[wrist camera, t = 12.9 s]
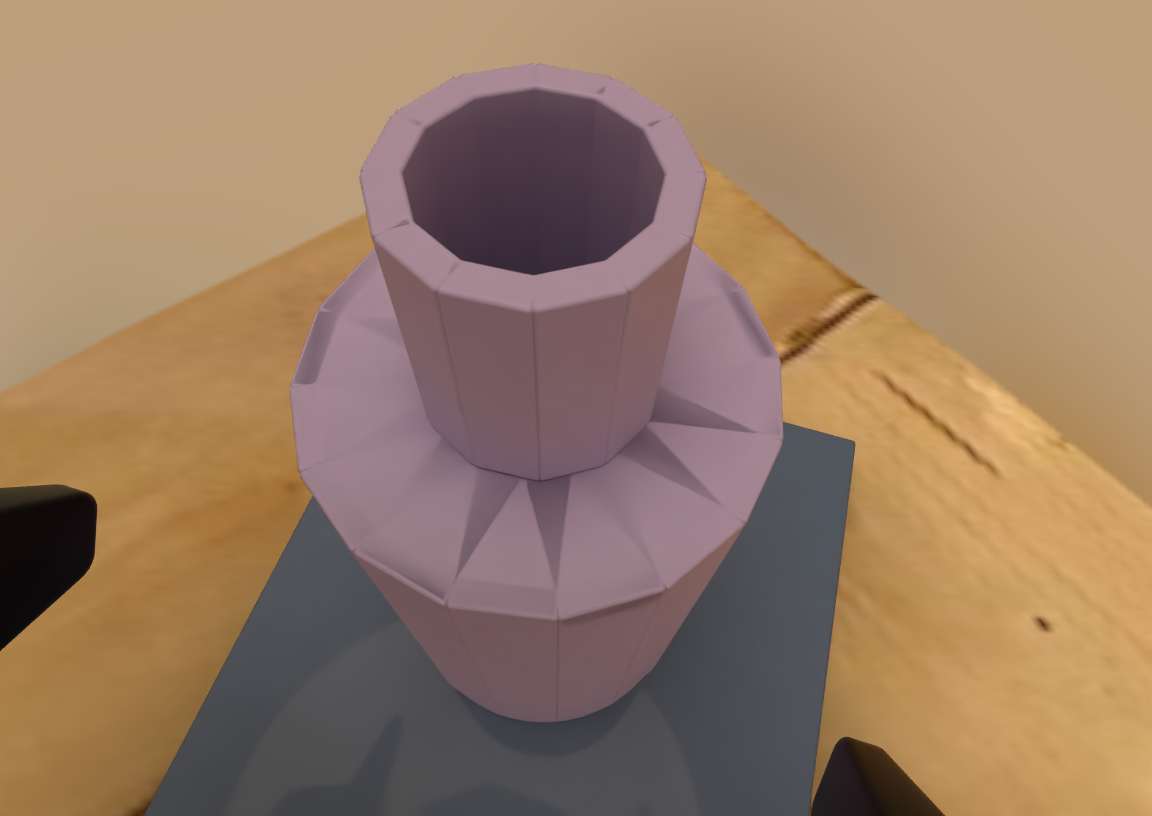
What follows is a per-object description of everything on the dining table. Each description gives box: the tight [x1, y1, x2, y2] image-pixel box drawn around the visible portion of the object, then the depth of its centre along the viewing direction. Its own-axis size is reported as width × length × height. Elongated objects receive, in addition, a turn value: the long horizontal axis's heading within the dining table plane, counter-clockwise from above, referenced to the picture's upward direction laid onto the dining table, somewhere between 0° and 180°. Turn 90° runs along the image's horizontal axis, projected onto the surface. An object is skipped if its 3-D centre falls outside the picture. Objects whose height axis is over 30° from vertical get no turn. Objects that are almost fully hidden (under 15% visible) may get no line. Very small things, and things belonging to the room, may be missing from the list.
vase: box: [290, 64, 783, 723], centre depth 13 cm, size 7×7×14 cm
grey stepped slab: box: [144, 422, 855, 816], centre depth 18 cm, size 20×14×2 cm
